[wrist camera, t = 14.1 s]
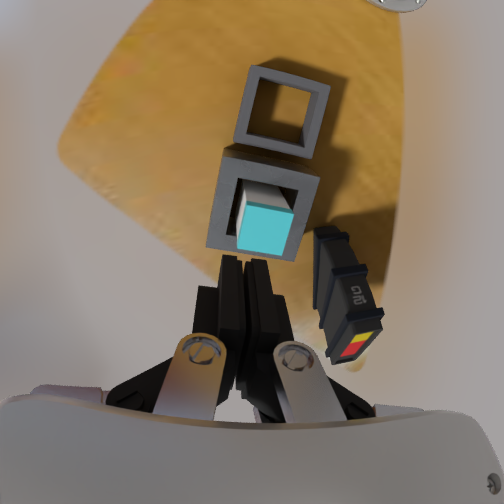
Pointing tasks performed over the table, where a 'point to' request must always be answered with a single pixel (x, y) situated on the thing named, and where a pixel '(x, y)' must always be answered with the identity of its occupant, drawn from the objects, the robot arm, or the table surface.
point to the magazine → (343, 297)
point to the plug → (262, 218)
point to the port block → (267, 171)
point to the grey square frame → (311, 119)
